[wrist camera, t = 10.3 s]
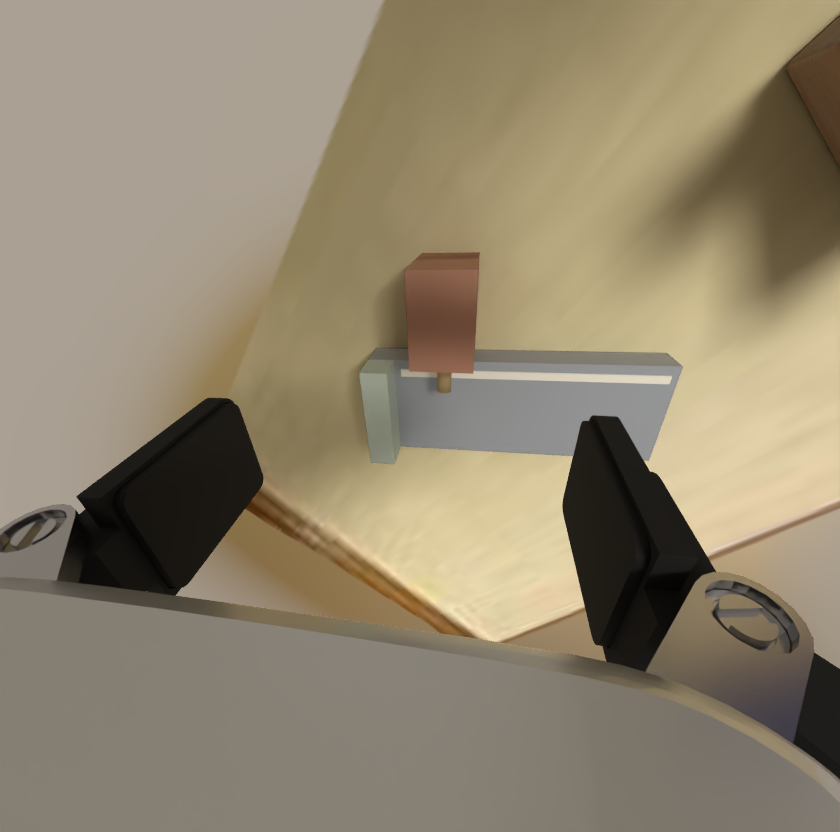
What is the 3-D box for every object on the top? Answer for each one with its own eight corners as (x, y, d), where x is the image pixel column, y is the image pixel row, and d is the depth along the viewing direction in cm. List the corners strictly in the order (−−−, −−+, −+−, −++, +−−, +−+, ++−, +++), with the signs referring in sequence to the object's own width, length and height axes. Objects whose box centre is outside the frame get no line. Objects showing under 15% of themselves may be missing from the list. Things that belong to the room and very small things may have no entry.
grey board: (376, 348, 30) (358, 372, 26) (667, 353, 27) (701, 382, 22) (384, 429, 34) (370, 462, 30) (637, 442, 31) (662, 481, 26)
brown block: (422, 253, 26) (404, 270, 20) (479, 252, 25) (478, 269, 19) (424, 364, 30) (410, 406, 24) (473, 366, 29) (471, 408, 23)
